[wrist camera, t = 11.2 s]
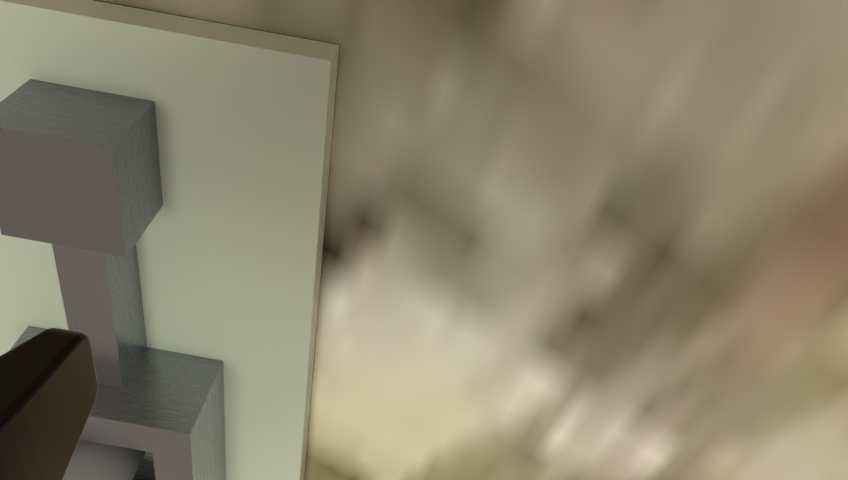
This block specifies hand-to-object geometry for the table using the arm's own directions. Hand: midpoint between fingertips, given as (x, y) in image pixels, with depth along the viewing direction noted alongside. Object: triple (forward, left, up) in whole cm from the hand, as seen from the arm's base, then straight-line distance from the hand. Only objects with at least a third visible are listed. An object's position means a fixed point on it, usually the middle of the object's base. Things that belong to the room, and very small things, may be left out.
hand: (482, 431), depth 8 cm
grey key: (+10, +11, -11) cm, 18 cm away
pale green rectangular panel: (+10, +11, -12) cm, 19 cm away
